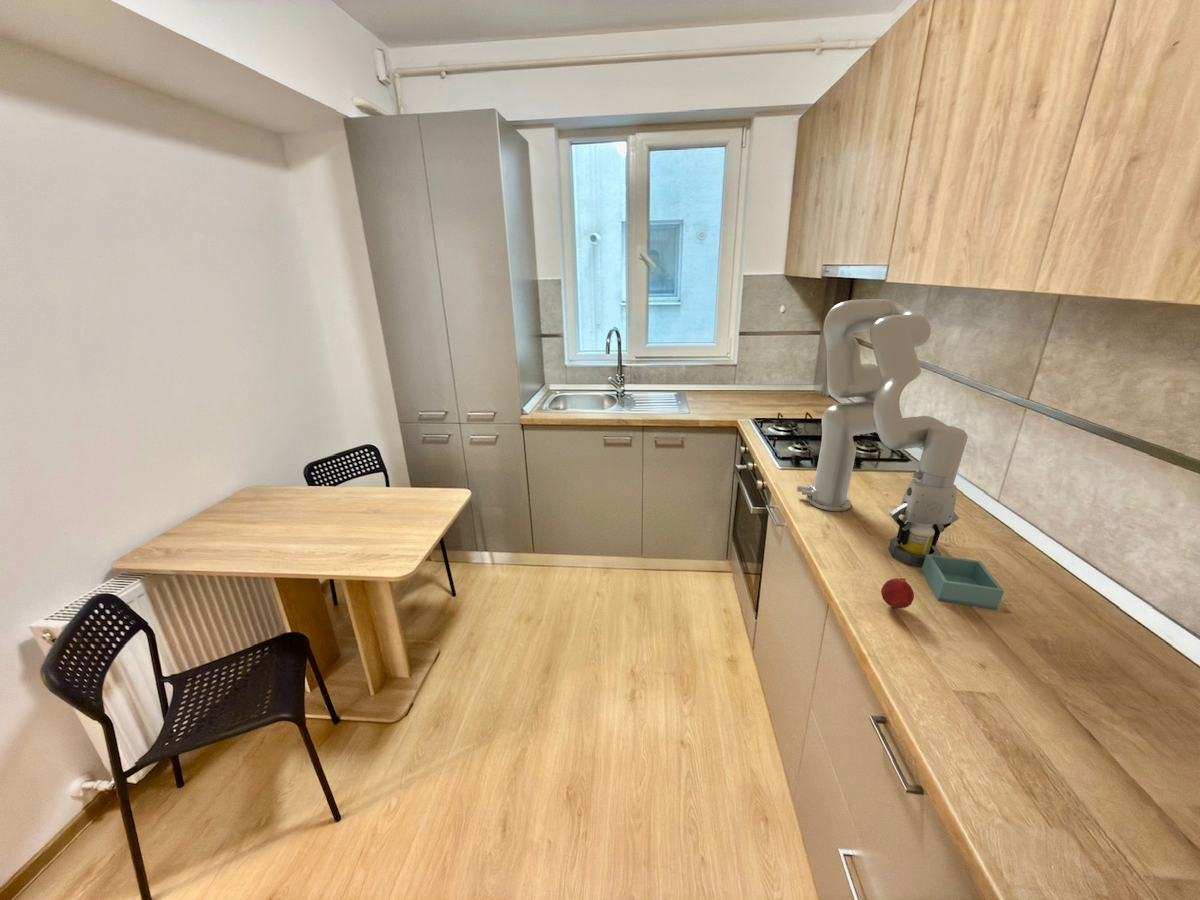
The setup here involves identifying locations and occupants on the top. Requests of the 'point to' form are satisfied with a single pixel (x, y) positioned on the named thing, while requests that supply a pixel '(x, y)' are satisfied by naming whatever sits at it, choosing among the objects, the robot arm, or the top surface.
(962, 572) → the bin
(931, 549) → the socket collar
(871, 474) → the top surface
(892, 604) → the onion
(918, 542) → the pill bottle
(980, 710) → the top surface
